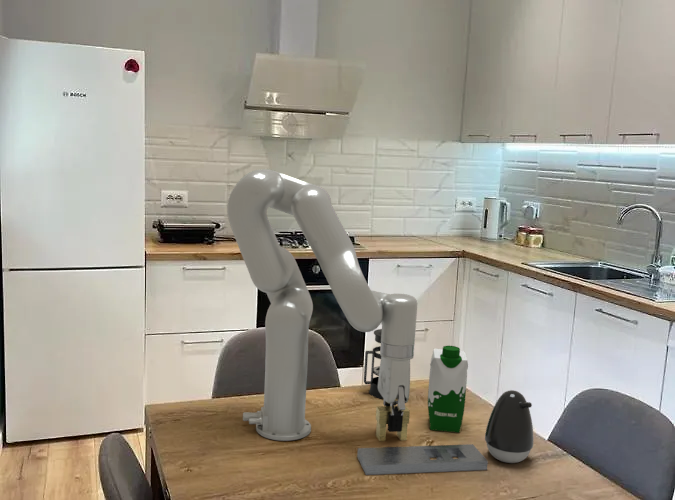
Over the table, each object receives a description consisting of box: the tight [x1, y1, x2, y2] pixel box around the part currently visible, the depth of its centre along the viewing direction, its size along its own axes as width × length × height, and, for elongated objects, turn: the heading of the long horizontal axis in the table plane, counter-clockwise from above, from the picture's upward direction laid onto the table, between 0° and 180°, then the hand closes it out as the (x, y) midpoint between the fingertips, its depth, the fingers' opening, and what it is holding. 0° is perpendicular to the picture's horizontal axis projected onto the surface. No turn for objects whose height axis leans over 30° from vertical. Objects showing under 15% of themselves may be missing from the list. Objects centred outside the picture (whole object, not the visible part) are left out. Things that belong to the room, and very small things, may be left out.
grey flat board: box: [356, 443, 489, 476], centre depth 142 cm, size 26×8×2 cm, turn 101°
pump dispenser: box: [484, 389, 534, 464], centre depth 146 cm, size 10×10×15 cm
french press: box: [363, 328, 384, 400], centre depth 181 cm, size 12×9×23 cm
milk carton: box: [427, 345, 469, 433], centre depth 161 cm, size 9×9×20 cm
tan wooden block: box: [375, 405, 411, 442], centre depth 154 cm, size 7×3×7 cm, turn 101°
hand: (391, 426), depth 154 cm, fingers open, 3 cm apart
